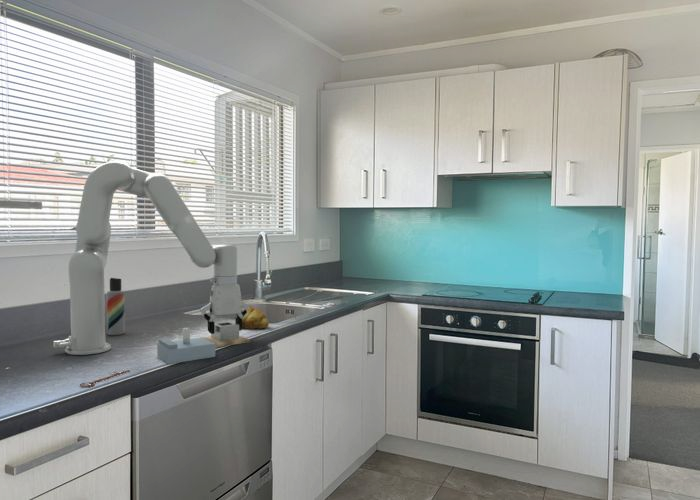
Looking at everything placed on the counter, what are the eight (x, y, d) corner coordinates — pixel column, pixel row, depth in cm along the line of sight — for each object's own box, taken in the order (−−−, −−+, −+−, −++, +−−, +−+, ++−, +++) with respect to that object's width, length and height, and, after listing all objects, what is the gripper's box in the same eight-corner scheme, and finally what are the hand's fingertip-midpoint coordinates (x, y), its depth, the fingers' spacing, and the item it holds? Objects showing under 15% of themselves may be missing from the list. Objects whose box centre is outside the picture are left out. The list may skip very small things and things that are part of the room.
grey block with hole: (219, 342, 174) (219, 327, 174) (211, 338, 180) (211, 323, 179) (239, 339, 178) (239, 324, 178) (230, 335, 184) (230, 321, 184)
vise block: (168, 363, 150) (168, 334, 150) (157, 356, 158) (157, 328, 158) (215, 356, 159) (215, 328, 158) (202, 349, 167) (202, 323, 166)
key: (118, 372, 144) (70, 387, 130) (118, 369, 144) (70, 384, 130) (134, 373, 142) (87, 389, 128) (134, 369, 142) (87, 385, 128)
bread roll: (273, 327, 203) (273, 306, 203) (258, 332, 195) (258, 310, 194) (246, 323, 209) (246, 303, 209) (230, 328, 200) (230, 307, 200)
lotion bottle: (104, 333, 188) (103, 277, 187) (120, 331, 192) (119, 276, 191) (111, 336, 184) (110, 278, 183) (127, 333, 188) (127, 277, 187)
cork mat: (216, 347, 171) (216, 344, 171) (201, 340, 180) (201, 337, 180) (249, 342, 178) (249, 339, 178) (234, 335, 187) (234, 333, 187)
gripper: (205, 283, 170) (204, 336, 171) (253, 280, 180) (253, 330, 181) (196, 281, 175) (196, 332, 176) (243, 278, 186) (243, 326, 187)
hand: (225, 331), depth 179 cm, fingers open, 9 cm apart
